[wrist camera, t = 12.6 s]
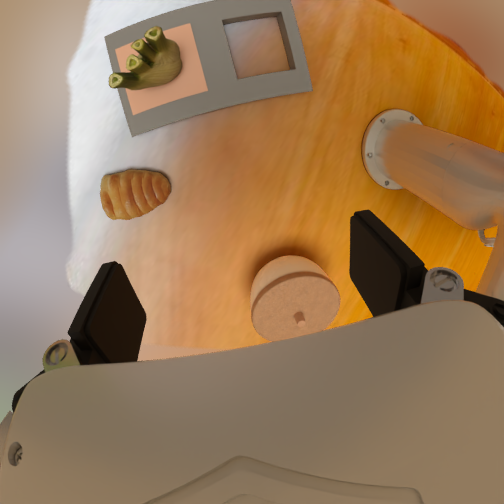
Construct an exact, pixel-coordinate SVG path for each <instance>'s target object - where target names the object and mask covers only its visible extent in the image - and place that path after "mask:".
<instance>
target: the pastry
mask: <svg viewBox="0 0 504 504" xmlns="http://www.w3.org/2000/svg"><path fill="white" fill-rule="evenodd" d="M170 193H171V186H170V183H169V181H168V179H167V178H165V177H164V176H163V175H162V174H161V173H159V172H150V171H147V170H138V169H137V170H132V169H129V170H126V171H125V172H120V173H115V174H112V175H105V176H104V177H103V178H102V181H101V191H100V197H101V203H102V207H103V209H104V211H105V212H106V215H107V216H108V217H109V218H111V219H113V220H116V219H125V220H130V219H132V218H135V217H140V216H142V215H144V214H147V213H148V212H150V211H152V210H153V209H154V208H156V207H157V206H159V205H160V204H163V203H164V202H165V201H166V199H167V197H168V195H169V194H170Z"/></svg>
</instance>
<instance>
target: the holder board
mask: <svg viewBox="0 0 504 504" xmlns="http://www.w3.org/2000/svg"><path fill="white" fill-rule="evenodd" d="M268 17H277V20H278V23H279V27H280V31H281V34H282V38H283V42H284V46H285V50H286V54H287V58H288V63H289V67H290V70H288V71H281V72H274V73H268V74H262V75H257V76H252V77H247V78H242V79H237V76H236V72H235V68H234V64H233V60H232V57H231V53H230V49H229V45H228V41H227V38H226V34H225V30H224V27H223V25H224V24H229V23H234V22H240V21H246V20H253V19H260V18H268ZM154 26H159V27H161V28H162V31H163V33H164V36H165V37H166V38H167V39H170V40H173V41H175V42H176V43H177V44H178V46H179V50H180V58H181V60H182V70H181V72H180V74H179V75H178V76H177V77H176V78H175V79H174V80H172V81H171V82H169V83H167V84H164V85H161V86H157V87H151V88H145V89H142V90H130V89H127V88H117V89H118V92H119V96H120V99H121V103H122V106H123V109H124V113H125V116H126V119H127V123H128V126H129V129H130V132H131V135H132V137H134V136H136V135H139V134H142V133H144V132H147V131H150V130H153V129H155V128H158V127H161V126H164V125H167V124H170V123H173V122H176V121H179V120H182V119H186V118H189V117H192V116H196V115H199V114H203V113H206V112H210V111H214V110H217V109H221V108H225V107H229V106H233V105H238V104H242V103H247V102H251V101H256V100H261V99H266V98H271V97H277V96H282V95H288V94H295V93H302V92H309V91H313V89H312V84H311V79H310V75H309V70H308V66H307V61H306V57H305V53H304V48H303V44H302V40H301V36H300V33H299V29H298V25H297V21H296V18H295V14H294V11H293V7H292V4H291V0H214V1H209V2H204V3H200V4H196V5H192V6H188V7H184V8H181V9H177V10H174V11H170V12H167V13H164V14H161V15H158V16H155V17H152V18H149V19H146V20H143V21H141V22H138V23H136V24H133V25H130V26H128V27H126V28H123V29H121V30H118V31H116V32H114V33H112V34H109V35H107V36H105V41H106V46H107V50H108V54H109V58H110V62H111V66H112V70H113V73H114V72H116V73H117V72H126V73H127V72H131V71H129V70H127V69H126V61H127V58H128V57H129V56H130V55H131V54H134V55H135V56H138V55H139V53H138V52H137V51H135V50H134V49H133V48H131V44H132V43H133V42H134V41H136V40H138V39H143V40H144V41H145V42H146V43H147V41H146V39H145V37H144V34H145V33H146V31H147V30H149V29H150V28H152V27H154Z"/></svg>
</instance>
